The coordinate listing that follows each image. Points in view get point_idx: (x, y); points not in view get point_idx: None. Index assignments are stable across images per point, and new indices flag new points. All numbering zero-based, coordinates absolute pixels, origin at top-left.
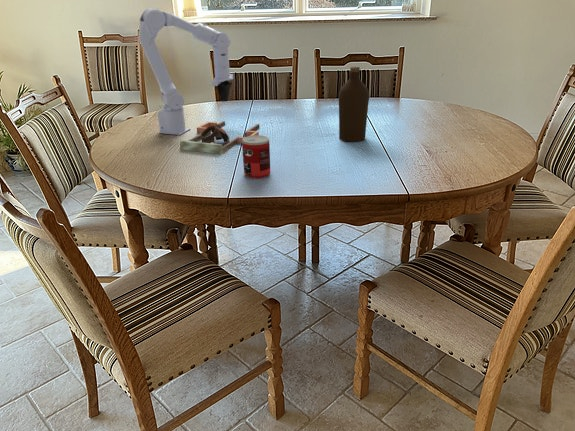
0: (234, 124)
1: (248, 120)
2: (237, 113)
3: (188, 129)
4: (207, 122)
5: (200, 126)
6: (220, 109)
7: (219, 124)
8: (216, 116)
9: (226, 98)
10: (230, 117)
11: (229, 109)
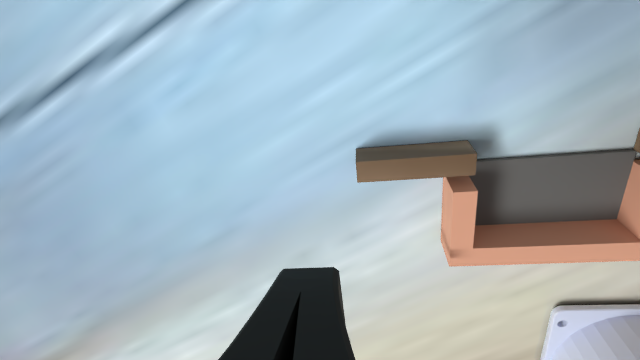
0: (310, 81)
1: (135, 27)
2: (43, 222)
3: (587, 309)
4: (477, 256)
5: (619, 249)
6: (56, 348)
7: (469, 153)
8: (192, 304)
9: (335, 295)
10: (156, 216)
11: (15, 308)
